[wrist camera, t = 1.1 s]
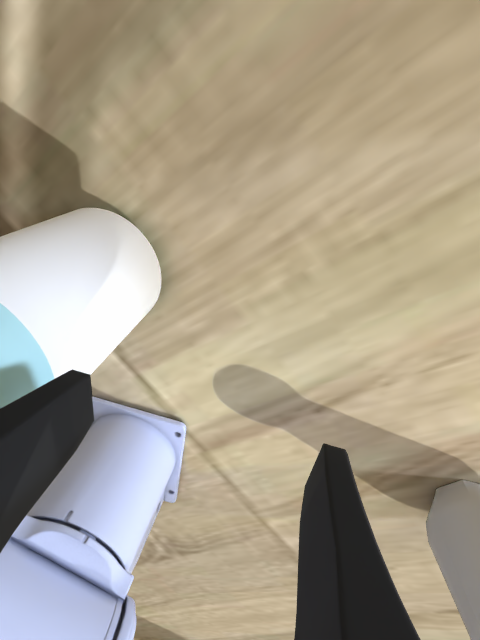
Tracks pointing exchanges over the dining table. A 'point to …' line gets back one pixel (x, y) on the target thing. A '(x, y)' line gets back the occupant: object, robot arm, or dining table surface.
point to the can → (70, 295)
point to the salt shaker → (458, 546)
